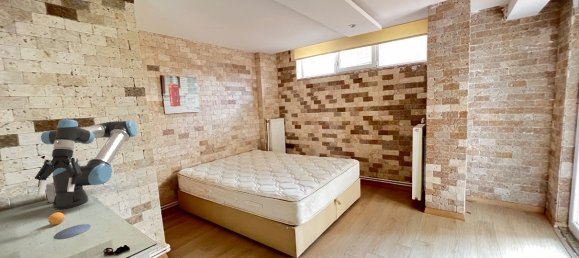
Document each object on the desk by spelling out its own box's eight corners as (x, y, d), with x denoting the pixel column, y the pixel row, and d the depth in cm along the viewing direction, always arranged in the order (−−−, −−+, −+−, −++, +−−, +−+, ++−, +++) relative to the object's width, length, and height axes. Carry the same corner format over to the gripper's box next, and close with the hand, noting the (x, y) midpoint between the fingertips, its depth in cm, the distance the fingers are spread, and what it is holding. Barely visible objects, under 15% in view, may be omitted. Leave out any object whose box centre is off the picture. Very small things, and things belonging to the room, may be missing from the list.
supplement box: (55, 203, 138) (52, 184, 137) (47, 202, 139) (44, 184, 138) (66, 199, 144) (63, 181, 142) (59, 198, 145) (56, 181, 144)
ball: (53, 222, 113) (52, 211, 112) (67, 220, 115) (66, 209, 114) (46, 227, 108) (44, 216, 107) (60, 225, 109) (59, 214, 109)
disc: (64, 227, 107) (64, 227, 107) (95, 222, 111) (95, 222, 111) (46, 241, 96) (46, 241, 96) (82, 235, 99) (82, 235, 99)
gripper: (30, 150, 113) (20, 195, 107) (82, 146, 114) (75, 190, 108) (45, 152, 120) (36, 195, 114) (94, 148, 121) (88, 190, 115)
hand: (55, 192), depth 111 cm, fingers open, 13 cm apart
